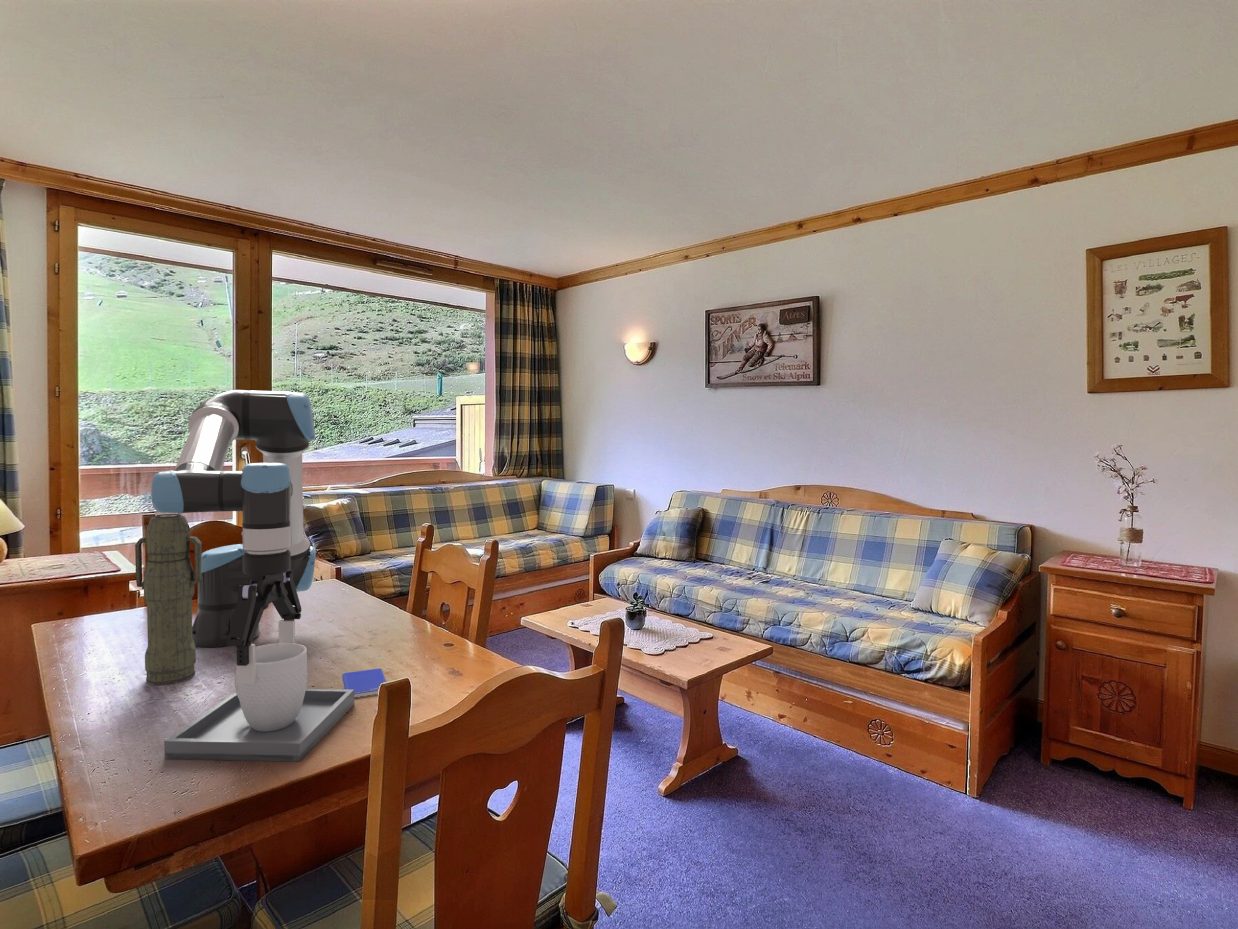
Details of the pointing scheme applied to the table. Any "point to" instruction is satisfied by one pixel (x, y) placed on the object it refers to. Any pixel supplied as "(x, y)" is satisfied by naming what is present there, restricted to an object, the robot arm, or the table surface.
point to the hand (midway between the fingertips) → (267, 668)
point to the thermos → (169, 597)
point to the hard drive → (363, 681)
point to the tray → (235, 739)
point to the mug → (274, 686)
